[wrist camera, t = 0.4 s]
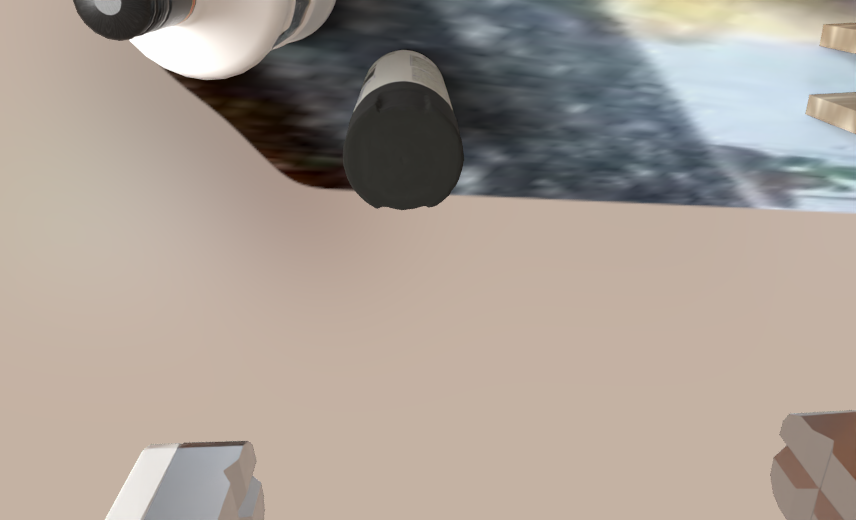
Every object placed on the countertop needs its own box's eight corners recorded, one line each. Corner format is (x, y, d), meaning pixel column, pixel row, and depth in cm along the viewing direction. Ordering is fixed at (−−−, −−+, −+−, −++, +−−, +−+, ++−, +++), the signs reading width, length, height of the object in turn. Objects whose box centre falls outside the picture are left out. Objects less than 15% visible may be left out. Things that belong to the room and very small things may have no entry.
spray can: (362, 47, 51) (335, 97, 32) (447, 48, 51) (467, 99, 33) (365, 130, 53) (341, 219, 35) (445, 131, 54) (463, 220, 36)
